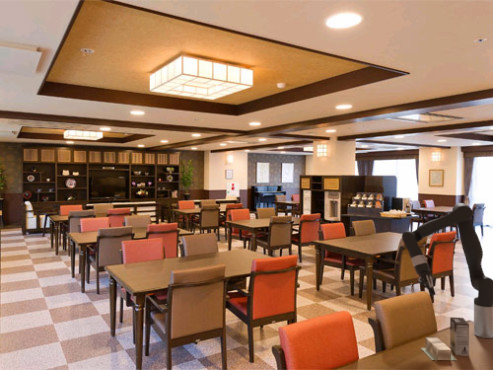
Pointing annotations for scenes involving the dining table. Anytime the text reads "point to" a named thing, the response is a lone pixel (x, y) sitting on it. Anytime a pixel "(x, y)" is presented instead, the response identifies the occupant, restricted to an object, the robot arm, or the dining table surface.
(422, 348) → the mat
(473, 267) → the robot arm
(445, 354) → the maple block
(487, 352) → the dining table surface
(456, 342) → the coffee box
